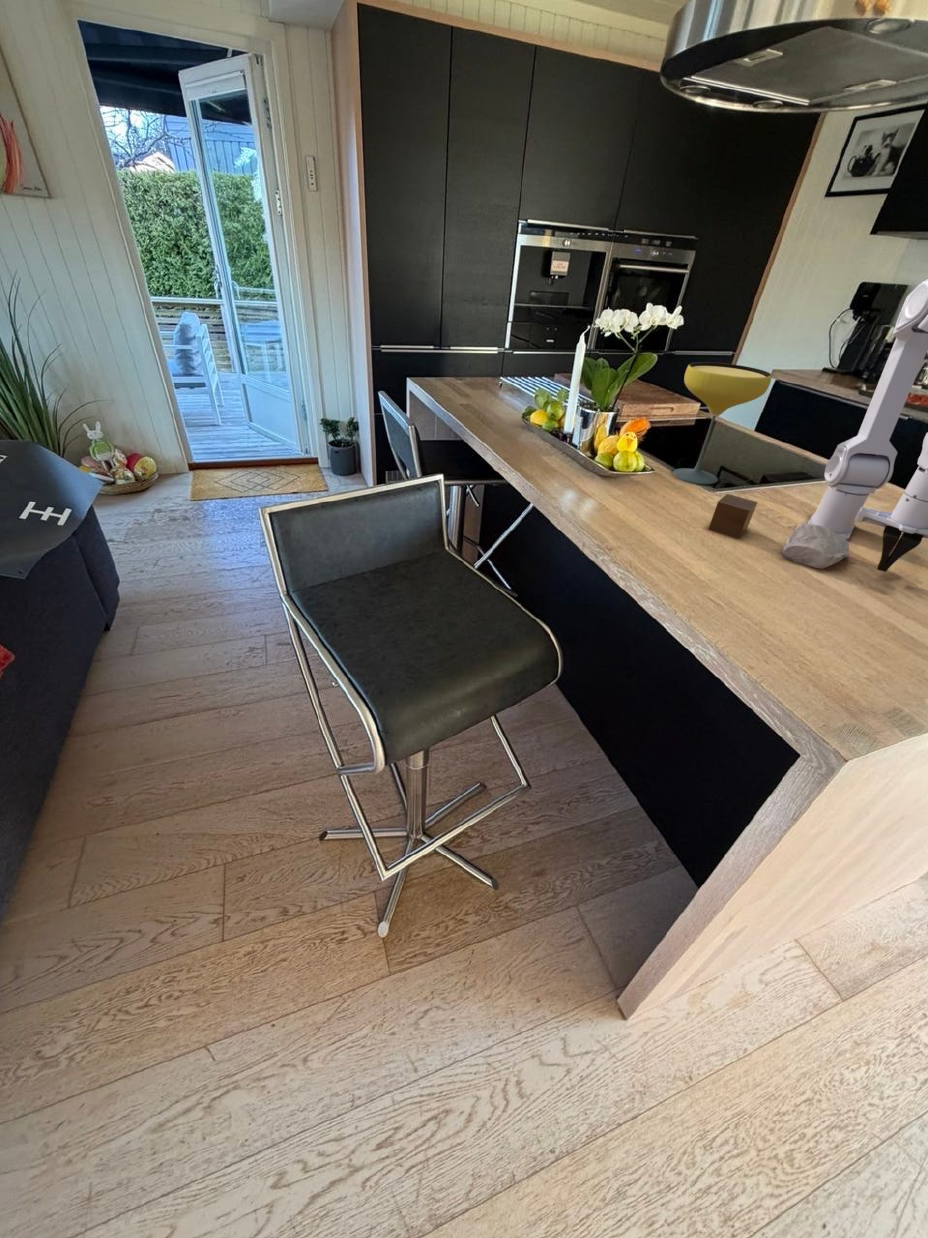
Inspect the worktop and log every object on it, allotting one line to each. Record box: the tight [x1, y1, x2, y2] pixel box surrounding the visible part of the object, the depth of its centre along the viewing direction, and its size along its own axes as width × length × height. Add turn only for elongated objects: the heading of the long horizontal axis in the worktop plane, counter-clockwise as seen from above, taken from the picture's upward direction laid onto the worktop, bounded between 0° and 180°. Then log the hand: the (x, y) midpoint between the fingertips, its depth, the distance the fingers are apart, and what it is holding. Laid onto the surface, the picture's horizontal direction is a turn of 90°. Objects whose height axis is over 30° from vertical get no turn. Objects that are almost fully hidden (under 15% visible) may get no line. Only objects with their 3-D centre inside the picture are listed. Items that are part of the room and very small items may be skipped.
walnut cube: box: [708, 493, 758, 539], centre depth 105 cm, size 6×6×6 cm
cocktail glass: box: [672, 361, 773, 486], centre depth 125 cm, size 18×18×25 cm
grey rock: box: [781, 522, 850, 570], centre depth 98 cm, size 12×5×10 cm
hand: (881, 568), depth 93 cm, fingers closed
